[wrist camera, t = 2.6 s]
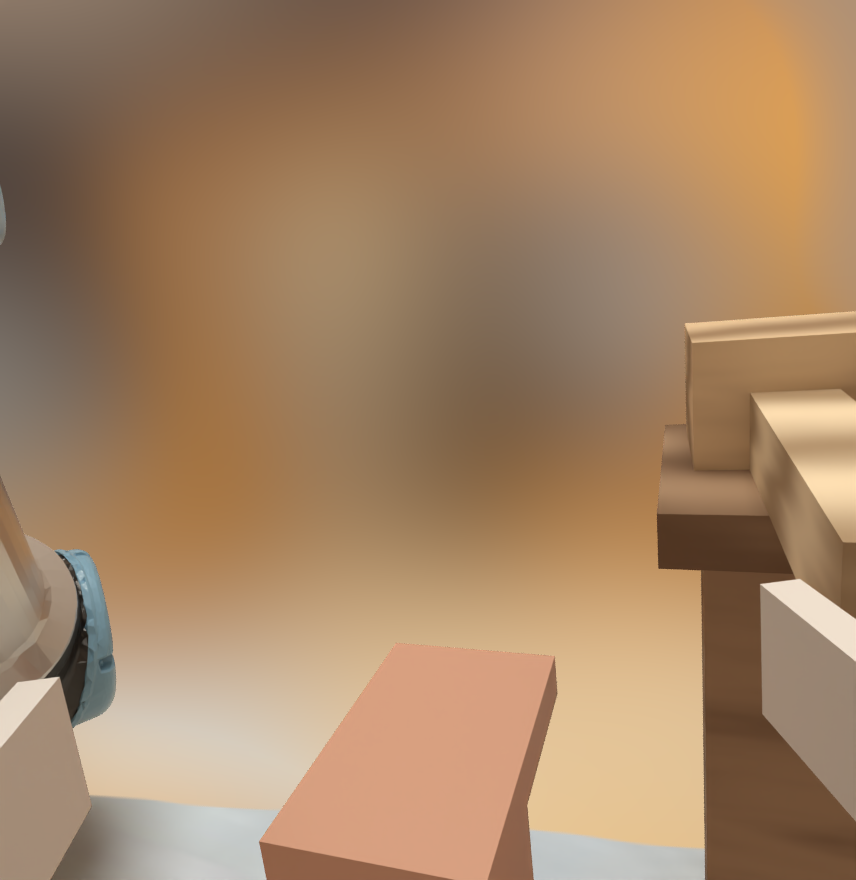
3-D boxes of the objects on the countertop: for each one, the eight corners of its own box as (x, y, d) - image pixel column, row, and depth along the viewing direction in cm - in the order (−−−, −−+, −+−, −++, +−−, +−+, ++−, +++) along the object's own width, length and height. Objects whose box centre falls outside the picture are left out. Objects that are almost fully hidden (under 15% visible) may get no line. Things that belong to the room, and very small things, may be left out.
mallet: (686, 431, 34) (684, 323, 33) (856, 425, 32) (860, 311, 31) (732, 672, 15) (732, 446, 14) (1142, 696, 13) (1183, 435, 12)
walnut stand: (677, 917, 43) (665, 424, 35) (851, 951, 40) (878, 420, 32) (675, 1154, 32) (656, 513, 24) (914, 1226, 29) (976, 519, 21)
